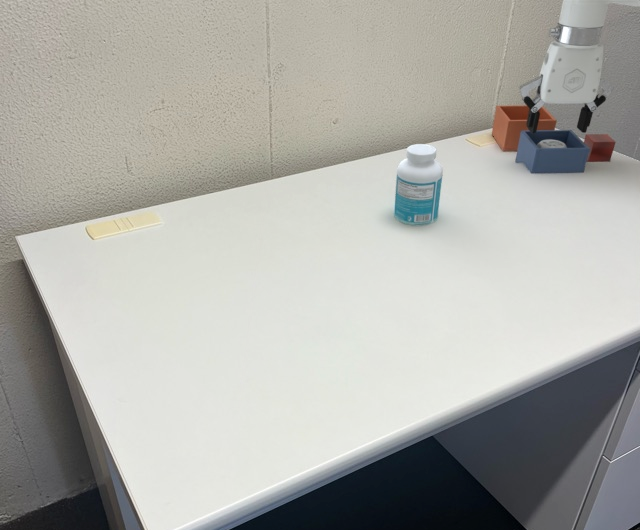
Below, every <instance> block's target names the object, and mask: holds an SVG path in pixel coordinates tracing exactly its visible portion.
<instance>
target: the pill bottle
mask: <svg viewBox="0 0 640 530" xmlns="http://www.w3.org/2000/svg"><path fill="white" fill-rule="evenodd" d="M405 155H406V158H404V159H402V160H401V161H400V162H399V163H398V164H397V168H396V177H395V178H396V180H395V194H394V211H393V216H394V218H395V219H396V220H397V221H398V222H400V223H402V224H405V225H407V226H414V227H418V226H419V227H420V226H429V225H431V224H434V223H435V222H436V221H437V220H438V217H439V209H440V201H441V200H440V199H441V190H442V184H443V183H442V181H443V174H444V173H443V172H444V169H443V166H442V164H441V163H440V162H439V161H438V160H437V159H436V158H437V148H436V147H435V146H434V145H431V144H426V143H415V144H411V145H409V146H408V147H407V148H406V154H405Z"/></svg>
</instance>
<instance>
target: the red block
mask: <svg viewBox="0 0 640 530" xmlns="http://www.w3.org/2000/svg"><path fill="white" fill-rule="evenodd" d="M583 139H584V140H583V142H584V143H585V144H586V145H587V146H588V147H589V148H590V150H589V154H588V158H587V162H586V163H610V162H611V159H612V156H613V154H614V150H615V146H616V141H615V140H614V139H613V138H612V137H611V136H610V135H609V134H608V133H587V134H585V136H584V138H583Z"/></svg>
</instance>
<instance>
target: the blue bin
mask: <svg viewBox="0 0 640 530" xmlns="http://www.w3.org/2000/svg"><path fill="white" fill-rule="evenodd" d="M549 139H550V140H558V141H561V142H563V143H564V144H565V145H566V147H567V148H538V147H537V146H536V145H537V144H538V143H539V142H541V141H542V140H549ZM589 150H590V148H589V147H588V146H587V145H586V144H585V143H584V140H582V139H581V138H580V137H579V136H578V135H577V134H576V132H574V131H573V130H572V129H555V130H537V131H536V133H531V132H530V130H527V131H521V134H520V139H519V145H518V150H517V151H516V156H515V159H514V160H515V161H514V162H515V164H523V165H524V166H525V167H526V168H527V170H528V171H529V173H530V174H584V173H585V170H586V169H585V168H586V165H587V163H588V162H587V158H588V154H589Z"/></svg>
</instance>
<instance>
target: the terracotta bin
mask: <svg viewBox="0 0 640 530" xmlns="http://www.w3.org/2000/svg"><path fill="white" fill-rule="evenodd" d="M494 111H495V112H494V117H493V123H492V130H491V136H492V135H493V136H494V137H493V136H492V137H493V139H494V138H495V139H496V140H497V142H496V143H497V144H498V146H499V148H500V149H501V150H502V152H517V150H518V145H519V139H520V134H521V131H527V130H529V129H528V127H527V125H526V124H527V118H528V113H529V108H528V106H527V105H526V104H525V105H524V104H523V105H522V104H521V105H517V104H516V105H515V104H514V105H512V104H511V105H510V104H509V105H496V107H495V110H494ZM538 112H539V113H540V117H539V121H538V126H537V130H556V125H557V121H558V120H557V119H556V118H555V117H554V116H553V115H552V114H551V113H550V112H549V111H548V109H546V107H544V105H543V106H542V107H541V108H540V109H539V110H538ZM495 139H494V140H495ZM496 140H495V141H496Z"/></svg>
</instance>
